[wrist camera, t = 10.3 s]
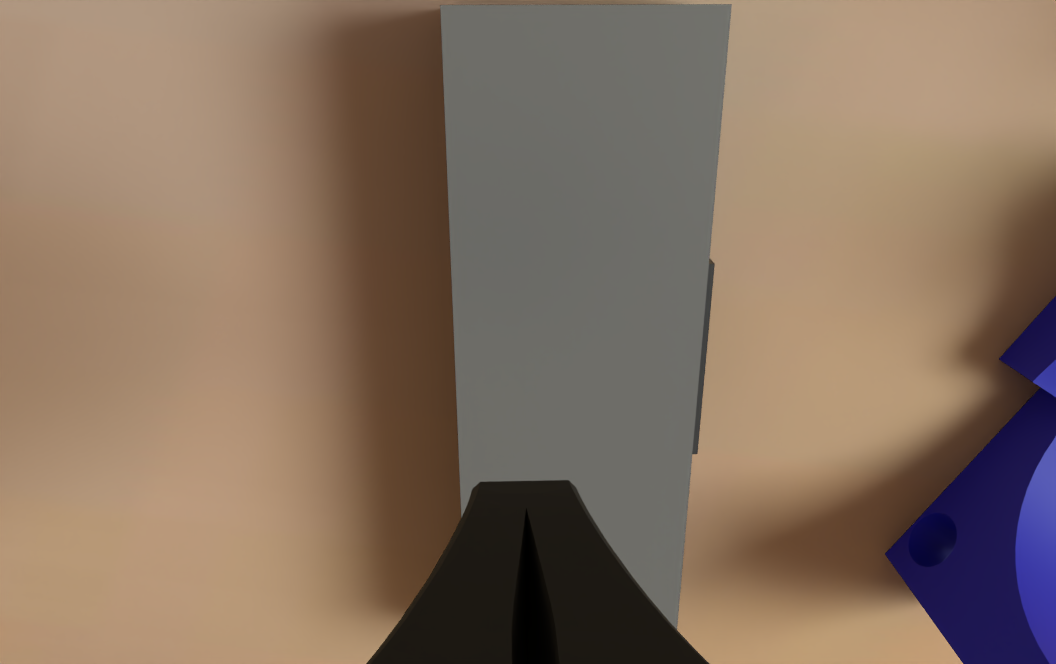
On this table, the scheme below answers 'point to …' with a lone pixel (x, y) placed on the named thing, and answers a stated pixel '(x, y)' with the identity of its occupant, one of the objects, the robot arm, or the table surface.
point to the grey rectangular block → (585, 256)
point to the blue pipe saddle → (997, 529)
